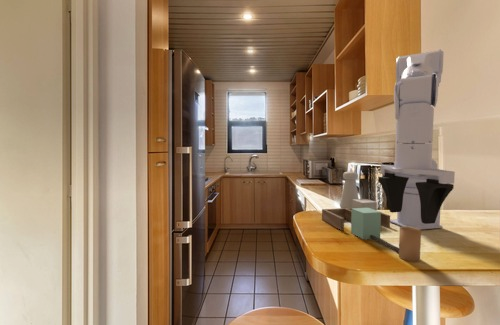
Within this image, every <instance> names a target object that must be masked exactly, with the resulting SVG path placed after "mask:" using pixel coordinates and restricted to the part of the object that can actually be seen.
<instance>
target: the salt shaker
mask: <svg viewBox="0 0 500 325" xmlns="http://www.w3.org/2000/svg"><path fill="white" fill-rule="evenodd" d="M342 179H344V183H343V184H344V185H343V188H342V193H341V198H340V202H339V206H340V208H352V199H360V198H359V192H358V186H357V180H358V179H359V175H358V173H357V172H356V171H345V172H343V174H342Z"/></svg>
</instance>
